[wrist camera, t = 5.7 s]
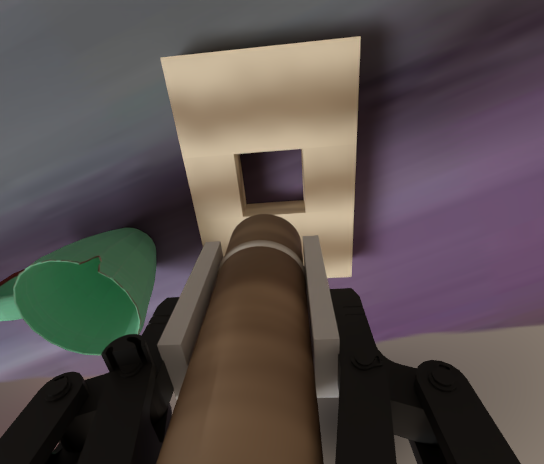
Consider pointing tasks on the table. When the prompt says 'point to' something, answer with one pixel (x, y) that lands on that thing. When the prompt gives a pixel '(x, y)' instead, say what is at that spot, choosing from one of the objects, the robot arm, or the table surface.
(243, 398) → the peg
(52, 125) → the table surface
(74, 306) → the mug
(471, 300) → the table surface
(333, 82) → the board
